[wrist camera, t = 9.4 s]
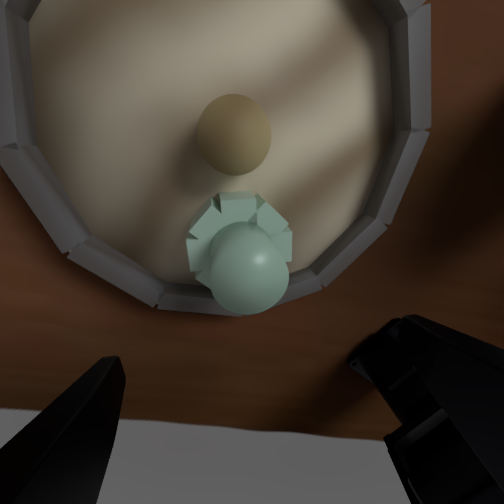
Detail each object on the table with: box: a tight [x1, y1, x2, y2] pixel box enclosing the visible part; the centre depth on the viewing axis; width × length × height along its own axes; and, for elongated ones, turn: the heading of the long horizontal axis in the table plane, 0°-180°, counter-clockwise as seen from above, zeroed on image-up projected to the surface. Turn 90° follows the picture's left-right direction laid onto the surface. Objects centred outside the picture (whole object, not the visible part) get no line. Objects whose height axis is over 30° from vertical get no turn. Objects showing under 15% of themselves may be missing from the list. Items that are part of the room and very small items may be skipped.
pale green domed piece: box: [186, 190, 292, 315], centre depth 14 cm, size 6×6×6 cm
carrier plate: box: [0, 0, 431, 317], centre depth 14 cm, size 24×24×4 cm
